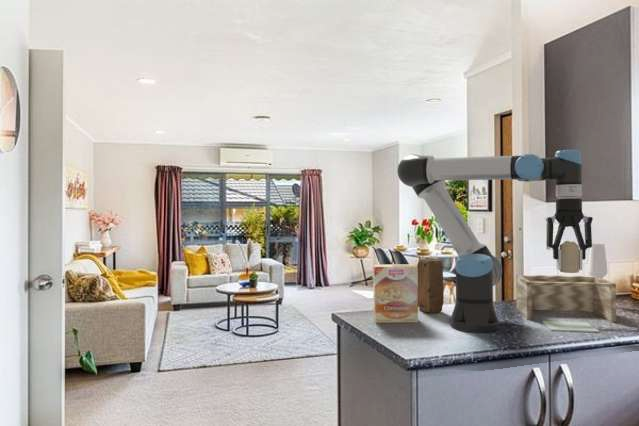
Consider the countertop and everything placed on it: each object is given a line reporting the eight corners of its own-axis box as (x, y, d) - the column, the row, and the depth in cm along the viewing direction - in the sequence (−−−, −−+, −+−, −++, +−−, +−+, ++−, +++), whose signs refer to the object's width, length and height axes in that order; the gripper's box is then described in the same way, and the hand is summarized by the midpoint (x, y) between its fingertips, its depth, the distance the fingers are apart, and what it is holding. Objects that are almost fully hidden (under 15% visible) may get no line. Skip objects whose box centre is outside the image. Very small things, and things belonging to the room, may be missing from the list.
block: (445, 313, 176) (445, 259, 176) (427, 314, 174) (426, 260, 174) (431, 307, 187) (430, 256, 186) (413, 308, 185) (413, 257, 184)
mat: (550, 330, 150) (550, 329, 150) (541, 322, 161) (541, 320, 161) (599, 332, 147) (599, 330, 147) (587, 323, 158) (587, 322, 158)
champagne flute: (585, 304, 189) (585, 244, 188) (591, 301, 193) (590, 243, 193) (604, 306, 184) (604, 244, 184) (609, 303, 189) (609, 243, 188)
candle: (556, 270, 156) (556, 240, 156) (573, 270, 156) (573, 240, 156) (564, 273, 151) (564, 241, 151) (582, 273, 151) (582, 241, 151)
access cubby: (527, 319, 165) (526, 282, 165) (516, 308, 183) (516, 274, 182) (615, 322, 159) (615, 283, 159) (596, 310, 177) (596, 276, 177)
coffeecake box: (375, 323, 163) (374, 266, 163) (373, 318, 170) (372, 264, 170) (418, 322, 163) (418, 266, 162) (415, 317, 170) (414, 263, 169)
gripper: (540, 198, 152) (541, 270, 152) (604, 197, 148) (605, 271, 148) (535, 198, 159) (535, 267, 159) (595, 197, 155) (596, 268, 155)
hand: (569, 269), depth 154 cm, fingers closed on candle, 5 cm apart
